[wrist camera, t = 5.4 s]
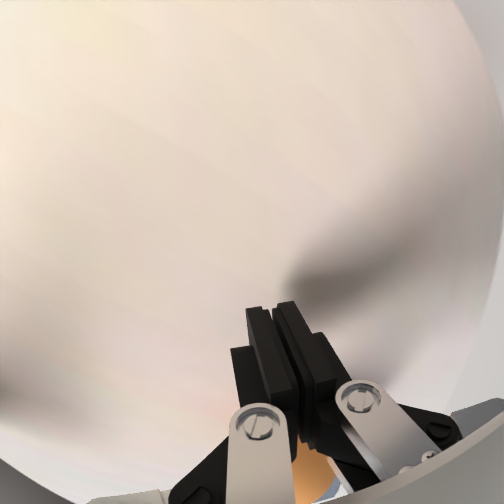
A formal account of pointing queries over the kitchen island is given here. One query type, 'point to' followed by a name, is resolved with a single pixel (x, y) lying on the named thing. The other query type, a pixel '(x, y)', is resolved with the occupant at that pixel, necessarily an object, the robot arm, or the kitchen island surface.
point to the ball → (310, 474)
